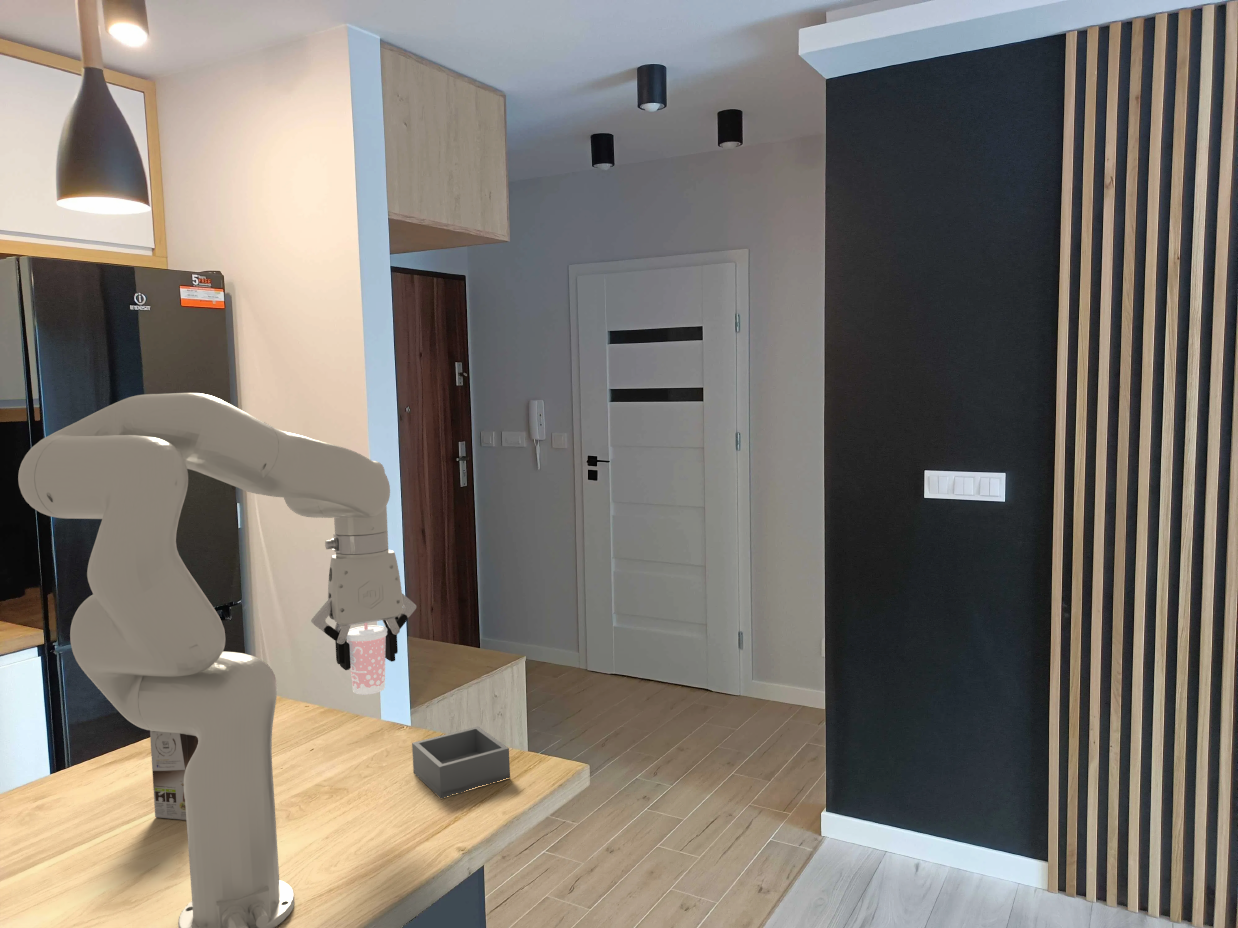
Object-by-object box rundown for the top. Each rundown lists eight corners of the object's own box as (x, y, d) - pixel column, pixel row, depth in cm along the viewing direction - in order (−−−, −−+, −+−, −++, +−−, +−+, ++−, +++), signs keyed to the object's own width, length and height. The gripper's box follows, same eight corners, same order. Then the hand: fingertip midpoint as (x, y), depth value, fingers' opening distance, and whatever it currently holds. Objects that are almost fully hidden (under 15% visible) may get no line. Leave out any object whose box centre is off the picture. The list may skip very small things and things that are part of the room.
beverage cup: (341, 688, 133) (336, 597, 132) (380, 680, 137) (376, 590, 136) (356, 699, 128) (351, 604, 127) (396, 689, 132) (392, 597, 131)
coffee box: (192, 821, 129) (184, 713, 127) (153, 818, 130) (145, 711, 129) (231, 793, 138) (225, 692, 136) (195, 790, 139) (188, 690, 138)
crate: (510, 778, 140) (508, 748, 139) (440, 798, 133) (439, 766, 133) (479, 754, 150) (478, 726, 149) (413, 772, 143) (412, 742, 143)
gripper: (308, 554, 123) (315, 681, 124) (427, 540, 132) (432, 658, 134) (295, 547, 129) (301, 668, 130) (409, 535, 139) (414, 647, 140)
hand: (367, 662), depth 132 cm, fingers closed on beverage cup, 6 cm apart
